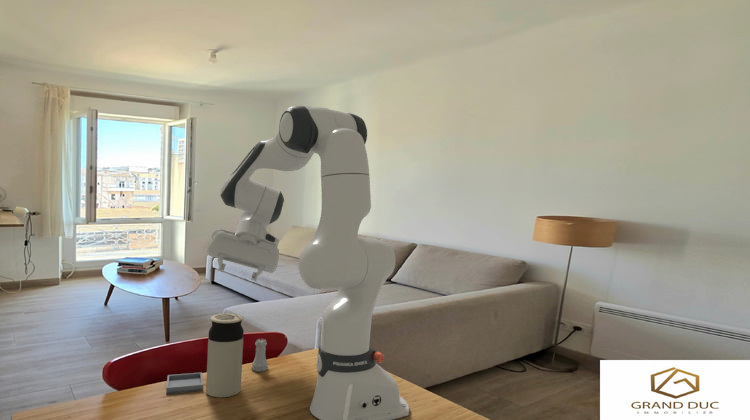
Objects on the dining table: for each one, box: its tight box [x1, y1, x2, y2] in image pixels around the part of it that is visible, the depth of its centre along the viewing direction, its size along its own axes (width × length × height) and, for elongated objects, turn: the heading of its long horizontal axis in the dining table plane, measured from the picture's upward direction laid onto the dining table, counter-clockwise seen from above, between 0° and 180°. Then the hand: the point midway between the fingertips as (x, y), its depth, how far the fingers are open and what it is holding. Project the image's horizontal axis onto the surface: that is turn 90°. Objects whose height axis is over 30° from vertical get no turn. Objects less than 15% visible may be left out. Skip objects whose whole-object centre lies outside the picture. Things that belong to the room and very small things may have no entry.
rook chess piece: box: [251, 338, 269, 373], centre depth 130 cm, size 4×4×8 cm
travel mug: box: [205, 312, 245, 399], centre depth 115 cm, size 8×8×18 cm
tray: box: [166, 372, 204, 395], centre depth 117 cm, size 8×8×2 cm
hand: (237, 274), depth 136 cm, fingers open, 8 cm apart
